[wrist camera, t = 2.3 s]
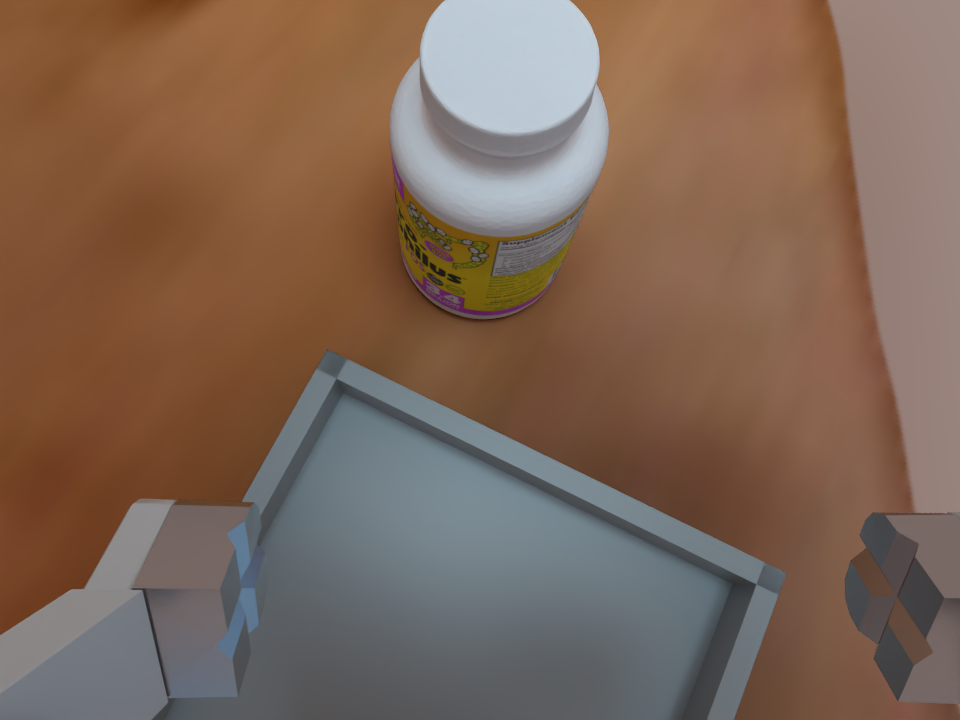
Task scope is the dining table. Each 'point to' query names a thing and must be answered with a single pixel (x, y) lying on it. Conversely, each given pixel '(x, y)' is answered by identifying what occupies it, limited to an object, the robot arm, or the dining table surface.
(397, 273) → the dining table surface
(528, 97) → the supplement bottle
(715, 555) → the tray
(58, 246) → the dining table surface
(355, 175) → the dining table surface
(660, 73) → the dining table surface
